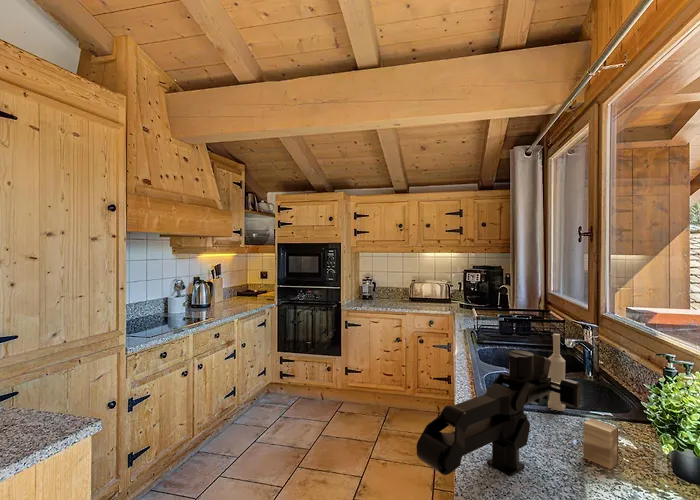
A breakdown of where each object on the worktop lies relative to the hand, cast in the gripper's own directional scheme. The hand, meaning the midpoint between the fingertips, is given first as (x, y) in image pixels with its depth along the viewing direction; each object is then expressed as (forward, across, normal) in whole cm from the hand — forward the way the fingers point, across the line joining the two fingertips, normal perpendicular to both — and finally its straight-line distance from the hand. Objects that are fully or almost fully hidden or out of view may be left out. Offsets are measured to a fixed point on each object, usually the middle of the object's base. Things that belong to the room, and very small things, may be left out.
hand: (558, 378), depth 105 cm
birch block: (-3, -12, +17) cm, 21 cm away
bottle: (+19, +10, +17) cm, 27 cm away
